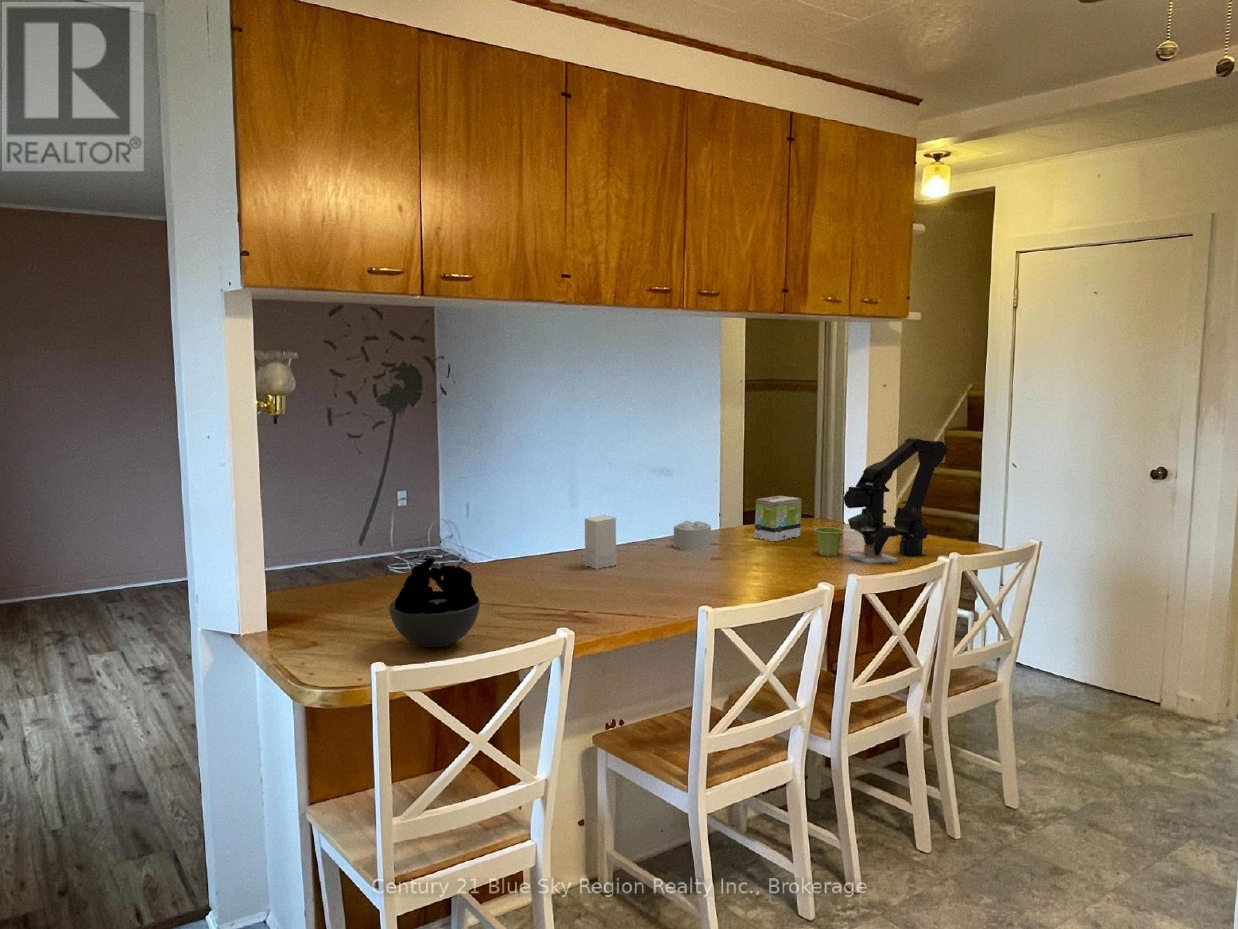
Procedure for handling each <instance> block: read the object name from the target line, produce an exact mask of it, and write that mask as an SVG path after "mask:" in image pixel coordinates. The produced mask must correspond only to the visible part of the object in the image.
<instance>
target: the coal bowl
mask: <svg viewBox="0 0 1238 929" xmlns="http://www.w3.org/2000/svg"><path fill="white" fill-rule="evenodd" d="M434 562H436V559H434V558H428V559H426V560H424V561H422V562H421V563H419V564H417V565H415V566H414V567H412V569H411V574H410V575H408V577H407V578H406V579H405V581H404V583H403V587H401V589H400V592H399V594H398V595H397V597H396V598H395V600H393V601H392V602H391V603H390V604H389V606H388V607H389V609H388V610H389V616H390V618H391V621H392V623H393V624H394V627H395V628H396V630H397V631H398V633H399V634H400V635H401V636H402V637H403V638H405V639H406V640H407V641H409V642H410V643H412V644H414V645H416V646H419V647H421V648H422V647H423V648H427V647H439V648H444V647H447V645H448V646H450V645H452V644H454V643H457V642H459V641H460V640H461V639H463V638H464V637H465V636H466V635H467V634H468V633H469V631H470V630H471V629H472V628H473V626H474V624H475V623H476V621H477V617H478V615H479V611H480V608H481V602H480V599H479V596H477V593H476V591H475V589H474V587H473V585H472V584H473V583H472V582H473V577H472V573H471V572H470V571H469V570H466V569H464V568H463V567H461V566H455V565H446V566H445V565H441V567H440V568H437V567H436V566H435V567H434V566H433V564H435V563H434ZM432 566H433V567H432ZM431 580H432V581H435V584H436V586H438V588H440V590H434V589H433V587H432V586H429V585H430V582H431ZM443 646H444V647H443Z"/></svg>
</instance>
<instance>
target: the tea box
mask: <svg viewBox="0 0 1238 929" xmlns="http://www.w3.org/2000/svg"><path fill="white" fill-rule="evenodd" d="M754 517H755V518H754V520H755V521H754V539H757V538H760V539H759V540H762V539H764V540H763V541H767V540H769V541H768V542H773V541H776V542H779V541H784V540H789V539H788V538H790V539H792V538H791V537H796V538H799V537H798V536H800V537H801V526H802V525H801V522H802V498H799V497H792V496H785V495H775V496H769V497H762V498H756V499H755V516H754Z"/></svg>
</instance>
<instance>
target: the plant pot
mask: <svg viewBox="0 0 1238 929" xmlns="http://www.w3.org/2000/svg"><path fill="white" fill-rule="evenodd" d="M814 532H815V535H816V539H817V540H816V541H817V547H818V549H817V550H818V555H819V556H823V557H838V555H839V548H840V543H841V539H842V536H843V533H844V530H843V529H842V528H838V527H837V528H836V527H829V526H828V527H826V526H823V527H816V528H814Z"/></svg>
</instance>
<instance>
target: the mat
mask: <svg viewBox="0 0 1238 929" xmlns="http://www.w3.org/2000/svg"><path fill="white" fill-rule="evenodd" d="M845 557H846V558H849V559H852V560H855V562H856V561H857V562H859V563H862V564H864V565H873V564H876V565H879V564H887V563H889V564H890V563H901V562H903V561H902V560H898V561H892V562H878V563H865V562H863V561H860V560H857V559H855V558H852V557H850V556H849V554H848V555H845Z"/></svg>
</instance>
